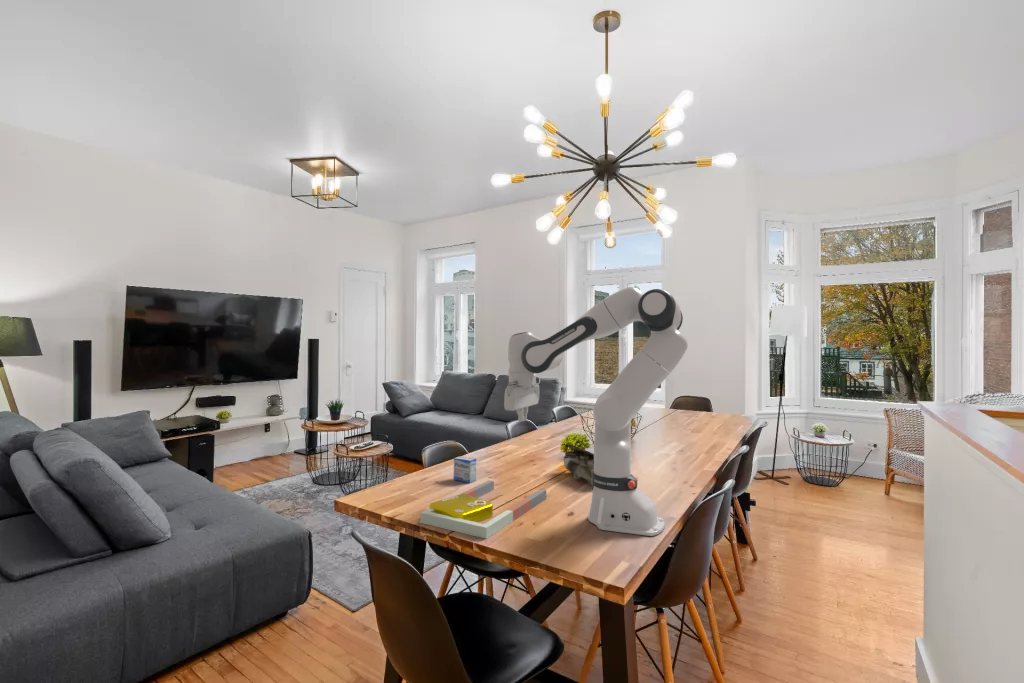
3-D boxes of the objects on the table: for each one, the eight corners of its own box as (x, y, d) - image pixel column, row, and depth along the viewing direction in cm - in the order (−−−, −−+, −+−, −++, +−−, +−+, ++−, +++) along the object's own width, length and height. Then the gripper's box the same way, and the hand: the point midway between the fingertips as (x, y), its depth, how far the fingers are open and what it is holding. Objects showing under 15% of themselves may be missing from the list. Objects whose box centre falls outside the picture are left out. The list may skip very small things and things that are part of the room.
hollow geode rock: (568, 481, 204) (545, 457, 200) (587, 458, 207) (565, 434, 204) (603, 499, 178) (578, 472, 174) (624, 473, 181) (600, 446, 178)
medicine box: (453, 480, 187) (453, 458, 187) (459, 477, 191) (459, 455, 191) (470, 483, 183) (470, 460, 183) (476, 480, 187) (476, 458, 187)
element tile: (463, 505, 160) (463, 491, 160) (495, 517, 149) (495, 501, 149) (426, 517, 149) (426, 502, 149) (458, 530, 138) (458, 514, 138)
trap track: (546, 498, 166) (546, 490, 166) (486, 538, 132) (486, 527, 132) (489, 488, 177) (489, 480, 177) (420, 522, 143) (420, 512, 143)
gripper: (516, 382, 154) (517, 426, 154) (542, 378, 172) (543, 416, 172) (498, 382, 157) (499, 424, 157) (526, 377, 175) (527, 416, 175)
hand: (522, 420), depth 164 cm, fingers closed
